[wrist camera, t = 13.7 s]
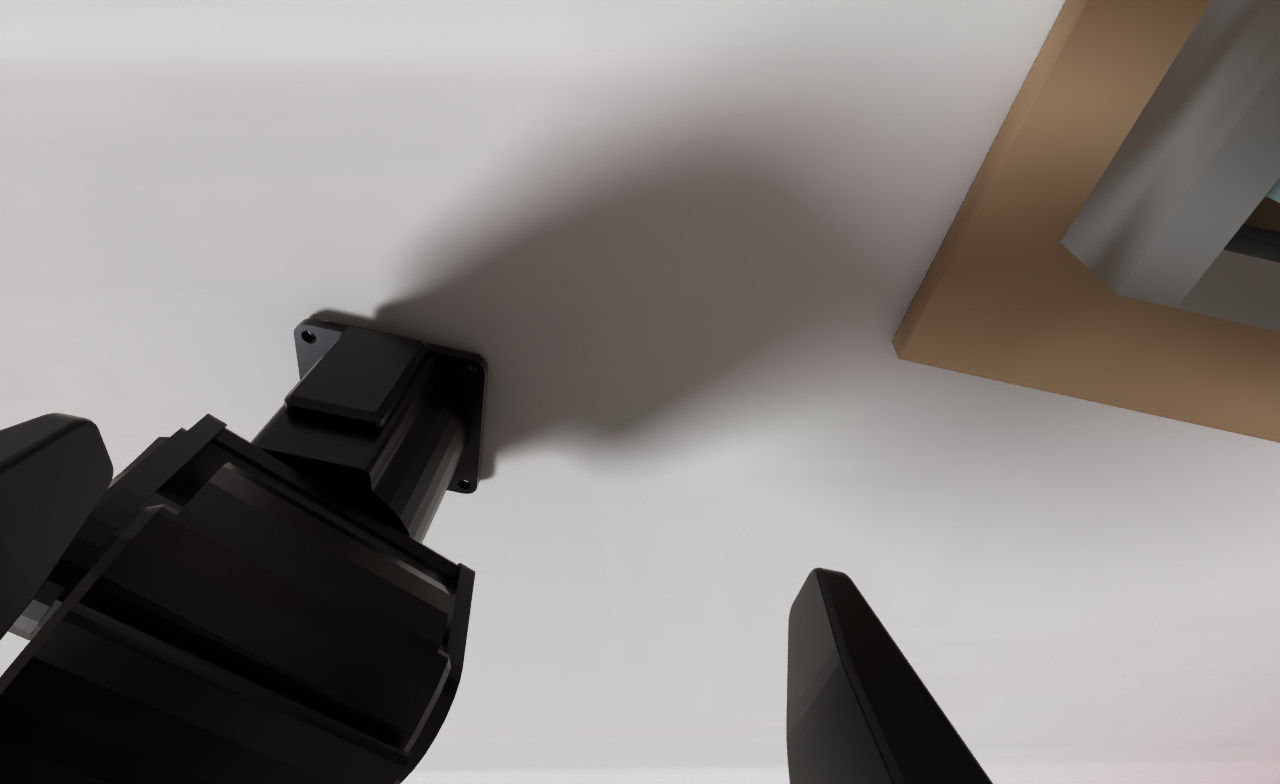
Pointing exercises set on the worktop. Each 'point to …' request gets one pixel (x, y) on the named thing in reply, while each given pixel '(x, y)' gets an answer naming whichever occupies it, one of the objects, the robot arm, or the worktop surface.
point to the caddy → (1126, 221)
